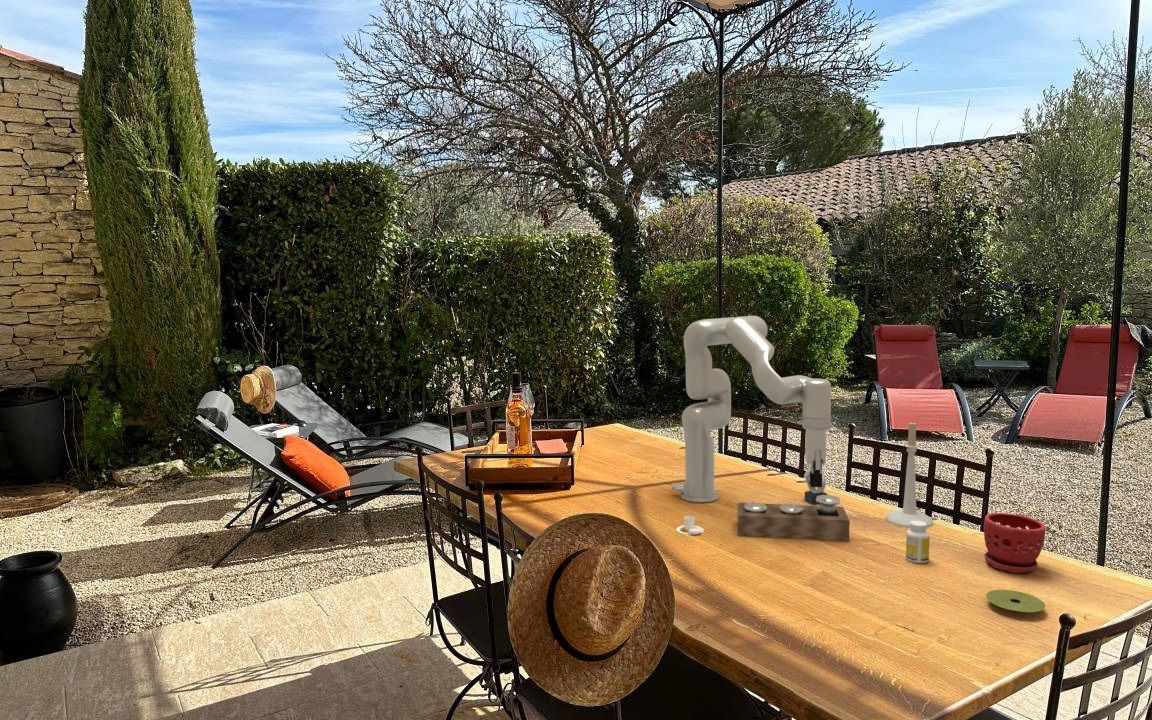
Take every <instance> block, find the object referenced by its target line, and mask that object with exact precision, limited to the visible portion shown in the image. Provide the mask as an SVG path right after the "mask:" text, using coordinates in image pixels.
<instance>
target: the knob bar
mask: <svg viewBox="0 0 1152 720" xmlns="http://www.w3.org/2000/svg"><path fill="white" fill-rule="evenodd" d="M746 503H747V502H737V523H736V524H737V536H738V537H748V538H749V537H753V538H773V539H790V540H791V539H793V540H794V539H795V540H814V541H830V542H831V541H835V542H850V525H851V524H850V522H851V521H850V518H849V516H848V514H847V512H846V510H845V508H844V506H837V505H835V516H821V515H820V505H811V504H809V505H808V504H807V505H806V504H804V505H803V504H799V505H800V506H802V507H803V512H802V513H801V514H784V513H783V512H781V511H780V506H781V505H783V503H782V504H779V503H764V504H765V505H766V506H767V511H765V512H763V513H751V512H748V511H746V510H745V509H744V505H745V504H746Z"/></svg>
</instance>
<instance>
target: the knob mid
mask: <svg viewBox="0 0 1152 720" xmlns="http://www.w3.org/2000/svg"><path fill="white" fill-rule="evenodd" d="M782 504H783V503H782ZM800 505H801V504H794V503H784V504H783V505H781V506H780V511H781V512H783V513H784V514H801V513H802V512H803V507H802V506H800Z"/></svg>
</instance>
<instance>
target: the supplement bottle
mask: <svg viewBox="0 0 1152 720" xmlns="http://www.w3.org/2000/svg"><path fill="white" fill-rule="evenodd" d="M927 530H928V527H927V524H926V523H925V522H922V521H911V522H910V528H908V530H907V531H906V535H905V536H906V537H905V538H906V540H905V541H906V543H905V558H906V559H907V561H909V562H911V563H917V564H926V563H928V562H929V559H930V534H929V532H928V531H927Z"/></svg>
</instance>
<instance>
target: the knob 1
mask: <svg viewBox="0 0 1152 720" xmlns="http://www.w3.org/2000/svg"><path fill="white" fill-rule="evenodd" d="M745 503H746V504H745V505H744V509H745V510H746V511H748V512H751V513H763V512H765V511H767V506H766V505H765V504H766V503H761V502H745Z"/></svg>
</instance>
